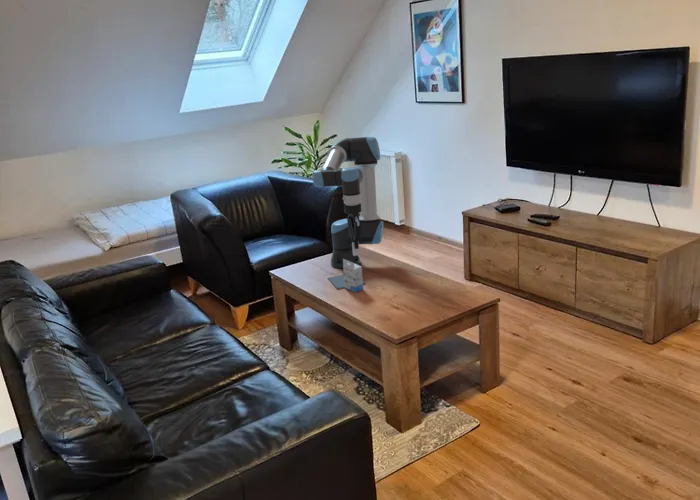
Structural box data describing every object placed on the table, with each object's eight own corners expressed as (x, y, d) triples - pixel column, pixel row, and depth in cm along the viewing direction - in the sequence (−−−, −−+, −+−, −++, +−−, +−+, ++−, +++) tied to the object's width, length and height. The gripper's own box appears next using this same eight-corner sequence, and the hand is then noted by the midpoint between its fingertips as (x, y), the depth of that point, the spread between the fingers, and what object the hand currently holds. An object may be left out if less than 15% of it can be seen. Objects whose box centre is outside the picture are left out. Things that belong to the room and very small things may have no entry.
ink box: (363, 289, 296) (362, 260, 290) (355, 292, 293) (353, 263, 287) (352, 283, 302) (350, 255, 296) (343, 287, 299) (342, 258, 294)
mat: (327, 278, 313) (327, 277, 313) (354, 273, 317) (354, 272, 317) (337, 289, 299) (337, 288, 298) (365, 284, 303) (365, 282, 302)
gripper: (339, 201, 282) (343, 252, 289) (348, 207, 270) (353, 260, 277) (355, 199, 284) (359, 249, 291) (365, 205, 272) (369, 257, 279)
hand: (356, 254), depth 284 cm, fingers closed
